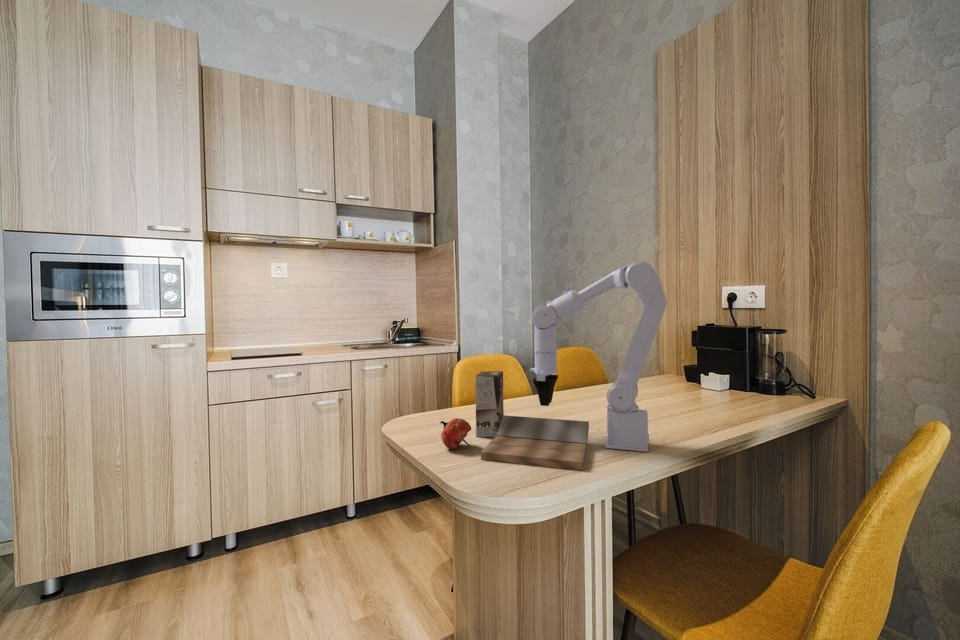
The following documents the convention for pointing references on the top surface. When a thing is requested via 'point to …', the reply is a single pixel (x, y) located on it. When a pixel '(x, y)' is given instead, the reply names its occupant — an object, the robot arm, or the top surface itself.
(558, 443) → the laid planks
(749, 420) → the top surface
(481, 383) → the coffee box
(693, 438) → the top surface
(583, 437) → the charcoal plank
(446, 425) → the red rounded piece
